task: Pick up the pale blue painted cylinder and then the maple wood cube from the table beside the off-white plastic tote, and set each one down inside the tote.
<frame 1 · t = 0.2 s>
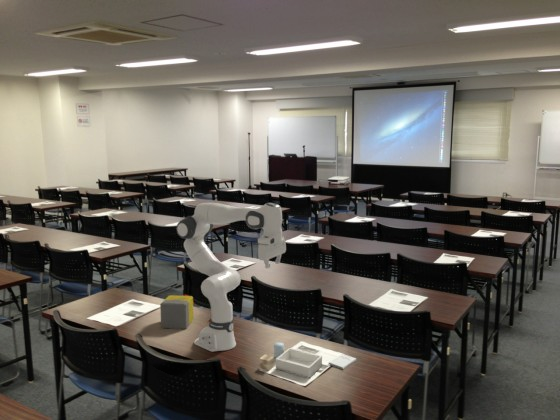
hand: (272, 265, 222), 47 cm above the table, tool pointing down, fingers open, 8 cm apart
maple cube: (266, 367, 220), on the table
grey-faced yellow box: (180, 321, 277), on the table
tote: (298, 367, 220), on the table
pale blue cylinder: (279, 357, 230), on the table
external hard drive: (342, 363, 225), on the table
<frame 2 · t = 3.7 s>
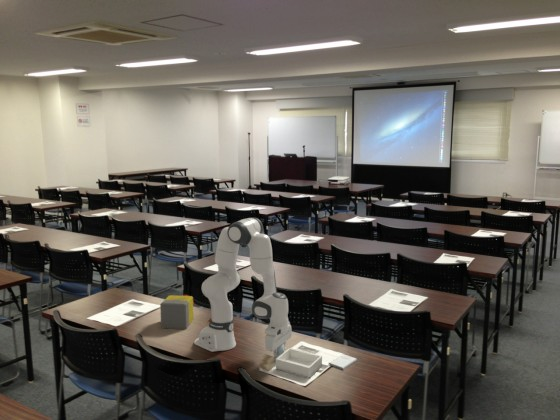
hand: (279, 352, 229), 3 cm above the table, tool pointing down, fingers closed on pale blue cylinder, 5 cm apart
pale blue cylinder: (279, 357, 230), on the table, touching gripper
everything else where it was.
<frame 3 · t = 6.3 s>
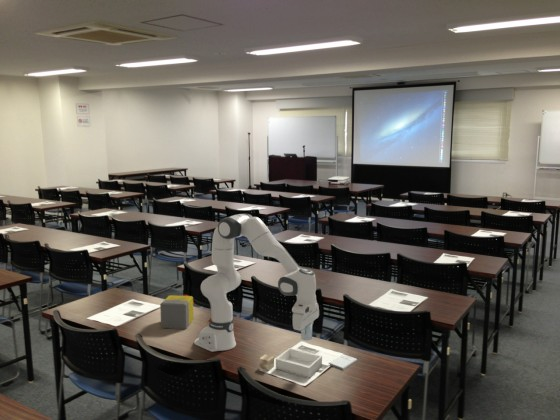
hand: (306, 332, 215), 18 cm above the table, tool pointing down, fingers closed on pale blue cylinder, 5 cm apart
pale blue cylinder: (306, 338, 216), point 15 cm above the table, touching gripper
everything else where it was.
when the fingers open (5 cm above the table, at t = 9.2 s): pale blue cylinder drops 1 cm, resting on tote.
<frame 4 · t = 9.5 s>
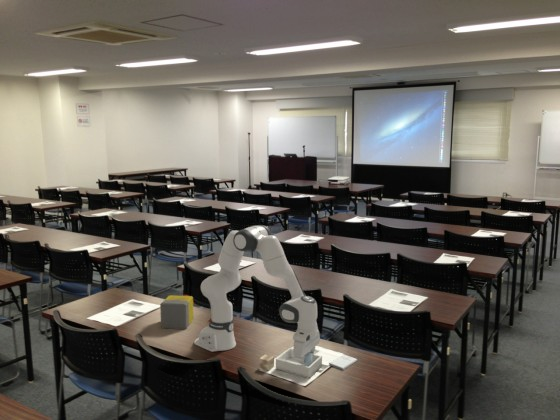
hand: (307, 359, 217), 5 cm above the table, tool pointing down, fingers open, 8 cm apart
pale blue cylinder: (306, 367, 217), point 1 cm above the table, touching tote
everything else where it was.
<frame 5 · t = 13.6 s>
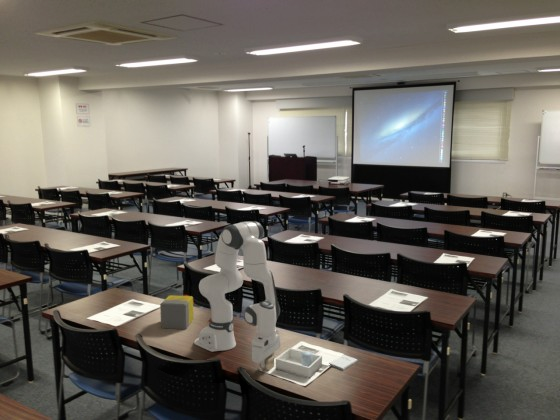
hand: (266, 364, 219), 2 cm above the table, tool pointing down, fingers closed on maple cube, 5 cm apart
maple cube: (266, 367, 220), on the table, touching gripper
everything else where it was.
when the fingers open (4 cm above the table, at t = 19.2 s): maple cube drops 1 cm, resting on tote.
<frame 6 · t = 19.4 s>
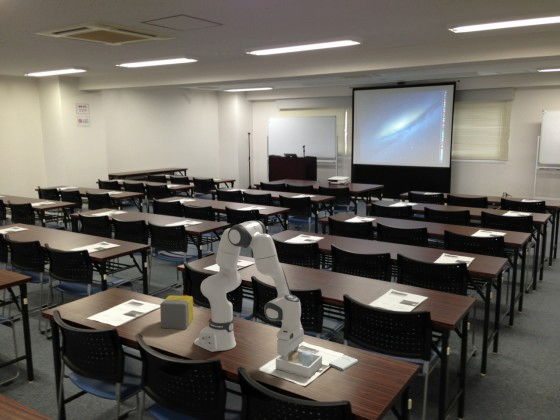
hand: (291, 357, 221), 4 cm above the table, tool pointing down, fingers open, 7 cm apart
maple cube: (291, 363, 222), point 1 cm above the table, touching tote
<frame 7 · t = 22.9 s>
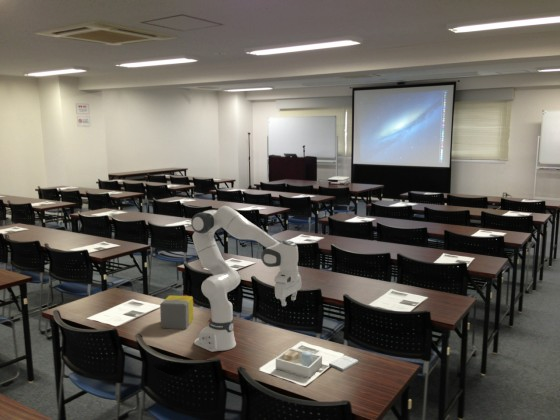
hand: (288, 302, 223), 29 cm above the table, tool pointing down, fingers open, 8 cm apart
at the end: pale blue cylinder inside the target area on the tote (4.3 cm from its centre), point 1.0 cm above the tote's base; maple cube inside the target area on the tote (4.2 cm from its centre), point 1.0 cm above the tote's base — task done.
